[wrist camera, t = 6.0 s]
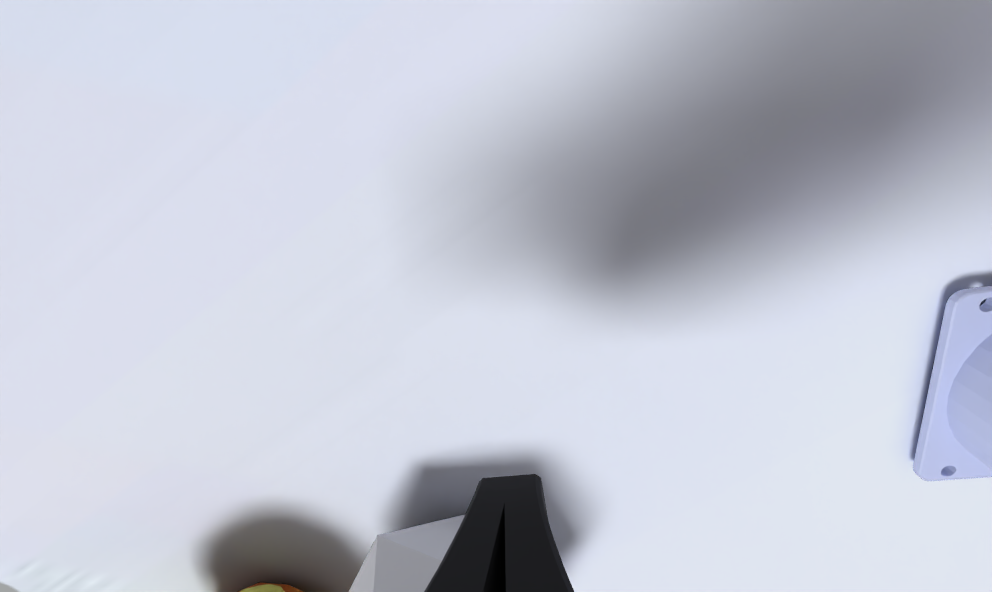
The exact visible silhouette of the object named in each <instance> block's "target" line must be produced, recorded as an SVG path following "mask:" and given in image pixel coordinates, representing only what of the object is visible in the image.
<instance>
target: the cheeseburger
mask: <svg viewBox="0 0 992 592" xmlns="http://www.w3.org/2000/svg"><path fill="white" fill-rule="evenodd" d="M237 592H304V591H301V590H299V589H297V588H294V587H292V586H290V585H286V584H273V583H260V582H259V583H257V584H254V585H252V586H249V587H247V588H245V589H242V590H240V591H237Z"/></svg>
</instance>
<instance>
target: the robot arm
mask: <svg viewBox="0 0 992 592" xmlns="http://www.w3.org/2000/svg"><path fill="white" fill-rule="evenodd" d="M986 298H987V299H986ZM984 299H986V301H985V303H984V304H982V305H981V306H979V305H980V303H981V302H982V301H983V300H984ZM913 471H914V472H915V473H916V474H917V475H918V476H919V477H920V478H921V479H923V480H925V481H940V480H954V479H969V478H983V477H992V286H985V287H976V288H968V289H963V290H959V291H957V292H956V293H954V294H952V296H951V297H950V298H949V299H948V301H947V303H946V307H945V312H944V317H943V321H942V326H941V331H940V336H939V341H938V346H937V351H936V356H935V361H934V366H933V370H932V375H931V380H930V385H929V390H928V395H927V400H926V405H925V410H924V415H923V419H922V424H921V429H920V434H919V439H918V444H917V449H916V454H915V459H914V464H913ZM424 592H574V590H573V588H572V585H571V583H570V581H569V578H568V576H567V573H566V571H565V568H564V566H563V563H562V561H561V558H560V555H559V552H558V549H557V547H556V544H555V541H554V538H553V535H552V532H551V529H550V526H549V522H548V517H547V511H546V505H545V499H544V493H543V487H542V481H541V478H540V477H539V476H537V475H536V474H531V475H519V476H506V477H493V478H483V479H482V480H481V481H480V482H479V484H478V486H477V489H476V491H475V494H474V496H473V498H472V501H471V503H470V505H469V508H468V510H467V512H466V514H465V516H464V518H463V521H462V523H461V525H460V527H459V529H458V531H457V533H456V535H455V537H454V539H453V541H452V543H451V544H450V546H449V548H448V550H447V552H446V554H445V556H444V558H443V560H442V562H441V563H440V565H439V567H438V569H437V571H436V572H435V574H434V576H433V577H432V579H431V581H430V583H429V584H428V586H427V588H426V589H425V591H424Z"/></svg>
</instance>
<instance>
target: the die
mask: <svg viewBox="0 0 992 592" xmlns="http://www.w3.org/2000/svg"><path fill="white" fill-rule="evenodd" d="M464 516H465V515H460V516H456V517H452V518H448V519H443V520H439V521H435V522H431V523H427V524H422V525H418V526H414V527H410V528H406V529H401V530H397V531H393V532H389V533H384V534H380V535H377V537H376V539H375V541H374V543H373V545H372V547H371V549H370V551H369V553H368V555H367V557H366V559H365V561H364V562H363V564H362V566H361V568H360V570H359V572H358V574H357V576H356V578H355V580H354V582H353V584H352V586H351V588H350V590H349V592H424V591H425V589H426V588H427V586H428V584H429V583H430V581H431V579H432V577H433V576H434V574H435V572H436V571H437V569H438V567H439V565H440V563H441V562H442V560H443V558H444V556H445V554H446V552H447V550H448V548H449V546H450V544H451V543H452V541H453V539H454V537H455V535H456V533H457V531H458V529H459V527H460V525H461V523H462V521H463V518H464Z"/></svg>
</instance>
